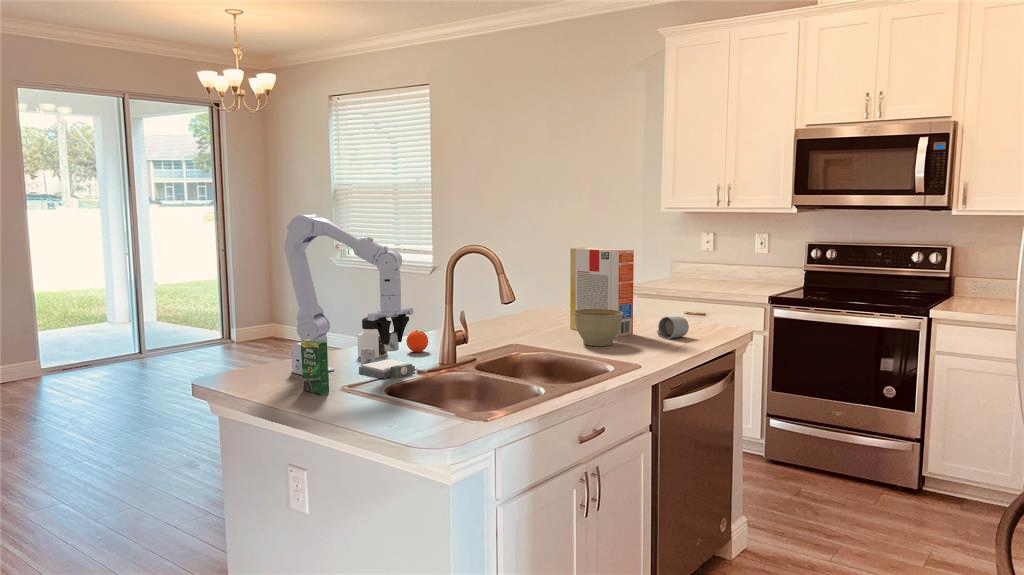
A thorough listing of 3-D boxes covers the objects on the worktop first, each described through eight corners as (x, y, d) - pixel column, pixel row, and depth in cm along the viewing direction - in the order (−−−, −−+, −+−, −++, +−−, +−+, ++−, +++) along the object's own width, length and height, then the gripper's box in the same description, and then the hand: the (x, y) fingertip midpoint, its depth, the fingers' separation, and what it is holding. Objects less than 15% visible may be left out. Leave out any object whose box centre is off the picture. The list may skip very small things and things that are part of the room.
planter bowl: (611, 350, 236) (611, 316, 235) (565, 346, 244) (565, 313, 243) (629, 342, 250) (630, 310, 249) (585, 338, 258) (586, 307, 257)
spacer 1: (367, 368, 214) (366, 351, 214) (358, 366, 217) (357, 349, 216) (378, 365, 217) (377, 348, 216) (369, 363, 220) (369, 347, 219)
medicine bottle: (379, 358, 227) (378, 319, 226) (357, 357, 229) (356, 318, 227) (387, 353, 234) (386, 315, 233) (366, 352, 236) (365, 315, 234)
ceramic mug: (690, 337, 257) (690, 315, 256) (674, 340, 252) (674, 318, 252) (667, 334, 266) (667, 312, 265) (651, 336, 261) (651, 314, 260)
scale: (388, 379, 200) (388, 369, 199) (359, 372, 208) (358, 362, 208) (419, 372, 208) (419, 362, 208) (390, 365, 217) (389, 356, 216)
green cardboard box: (301, 390, 189) (299, 339, 188) (311, 388, 191) (309, 338, 190) (320, 395, 184) (318, 343, 182) (330, 393, 186) (328, 341, 185)
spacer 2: (388, 352, 205) (387, 334, 204) (381, 349, 208) (380, 332, 207) (401, 349, 207) (400, 332, 206) (394, 347, 210) (393, 330, 209)
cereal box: (632, 334, 265) (633, 250, 261) (618, 337, 260) (618, 251, 256) (585, 326, 282) (585, 247, 278) (570, 329, 277) (570, 248, 273)
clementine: (429, 349, 241) (429, 327, 240) (433, 353, 234) (433, 330, 234) (404, 350, 239) (404, 328, 238) (408, 354, 232) (408, 332, 231)
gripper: (378, 298, 197) (380, 348, 199) (419, 293, 208) (421, 340, 210) (362, 296, 202) (363, 345, 203) (403, 291, 213) (404, 338, 214)
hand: (391, 343), depth 207 cm, fingers closed on spacer 2, 4 cm apart
